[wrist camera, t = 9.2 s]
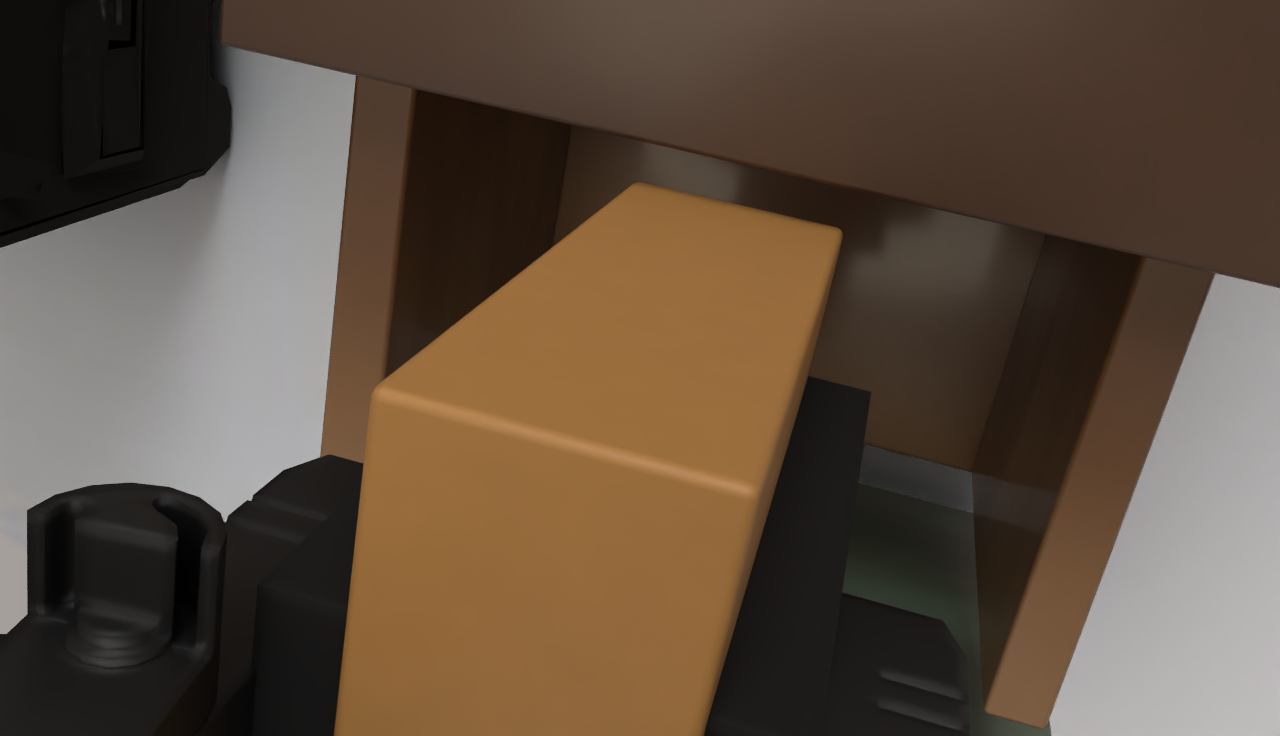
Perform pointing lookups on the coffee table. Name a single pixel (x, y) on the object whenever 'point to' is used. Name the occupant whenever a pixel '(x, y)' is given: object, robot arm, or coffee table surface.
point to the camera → (102, 107)
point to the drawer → (821, 355)
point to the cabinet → (879, 98)
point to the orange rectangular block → (583, 479)
